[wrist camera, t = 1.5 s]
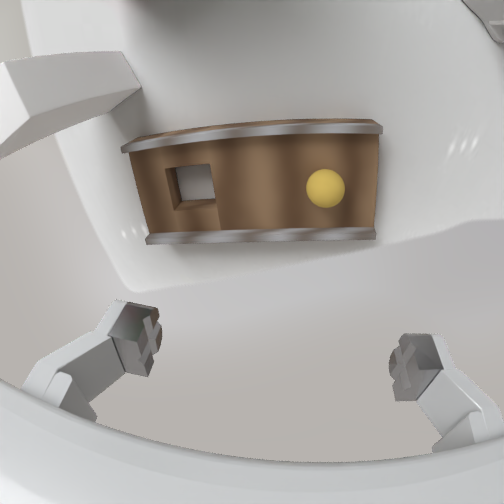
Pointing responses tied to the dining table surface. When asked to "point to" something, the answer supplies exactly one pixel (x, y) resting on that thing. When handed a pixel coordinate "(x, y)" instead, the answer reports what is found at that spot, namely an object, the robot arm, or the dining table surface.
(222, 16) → the dining table surface
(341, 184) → the ball
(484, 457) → the robot arm
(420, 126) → the dining table surface
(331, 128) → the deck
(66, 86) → the milk
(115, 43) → the dining table surface
